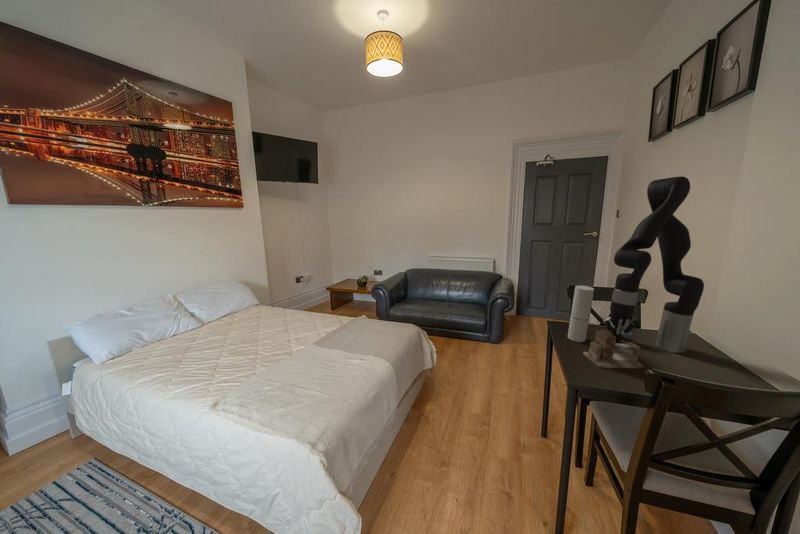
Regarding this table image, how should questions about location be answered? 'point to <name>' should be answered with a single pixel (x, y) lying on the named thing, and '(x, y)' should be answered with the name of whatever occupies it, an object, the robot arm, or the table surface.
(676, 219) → the robot arm
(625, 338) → the beverage can
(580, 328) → the cylindrical container
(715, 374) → the table surface
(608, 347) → the brown rectangular block
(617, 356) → the pipe rack
